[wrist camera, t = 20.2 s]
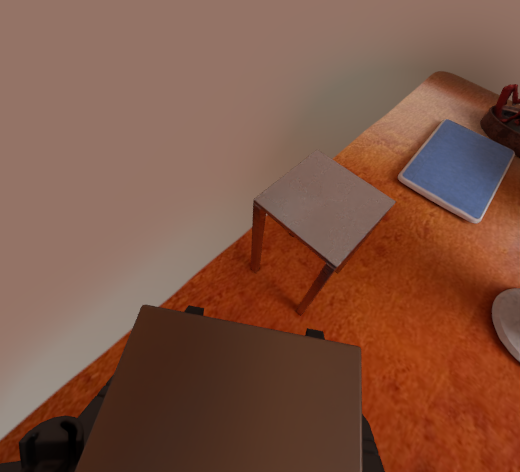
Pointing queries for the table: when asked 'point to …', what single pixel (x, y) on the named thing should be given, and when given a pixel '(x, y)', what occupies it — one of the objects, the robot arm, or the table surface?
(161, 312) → the block
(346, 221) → the square metal stool
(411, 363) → the table surface
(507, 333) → the table lamp
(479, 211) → the tablet
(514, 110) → the figurine
